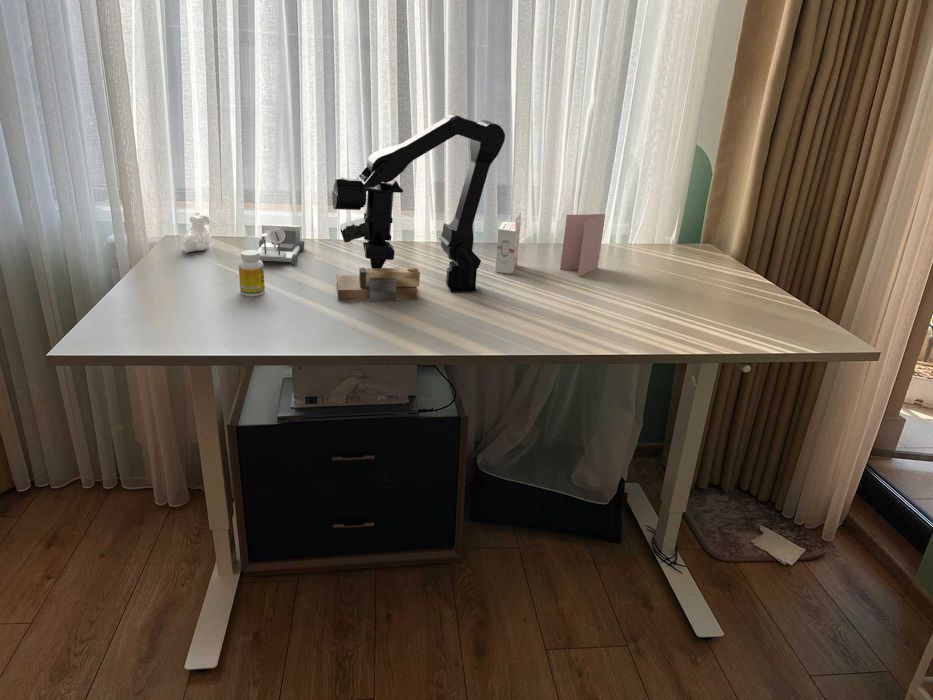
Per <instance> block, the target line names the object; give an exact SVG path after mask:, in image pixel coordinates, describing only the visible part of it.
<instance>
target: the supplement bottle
mask: <svg viewBox="0 0 933 700" xmlns="http://www.w3.org/2000/svg"><path fill="white" fill-rule="evenodd" d="M240 258H241V260H240V261H239V262H238V278H239V290H240V291H239V292H240V294H241V295H243V296H244V297H259V296H262V295H263V294H265V272H264V271H265V270H264V269H265V268H264V263H263V262H264V261H261V260H259V258H260V253H259V251H257V250H255V249H246V250H243V251H241V252H240Z"/></svg>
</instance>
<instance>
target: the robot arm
mask: <svg viewBox="0 0 933 700" xmlns="http://www.w3.org/2000/svg"><path fill="white" fill-rule="evenodd" d="M455 136H461V137H464V138H467V139H470V142H469V149H470V161H469V165H468V168H467V172H466V175H465V179H464V183H463V186H462V189H461V190H462V191H461V193H460V197H459V201H458V205H457V208H456V212H455V214H454V217H453V219H452V221H451V222H450V223H449V224H448V223H443V226H442V233H441V235H440V236H439V239H438V240H439V241H440V246H441V249H442V250H443V252H444V253H445V254H446V255H447V257H448V259H449V260H450V261H449V264H448V265H449V266H448V267H447V268H446V276H445V278H446V280H445V285H446V286H447V288H448V289H449V291H450V292H452V293H470V292H471V293H472V292H473V293H474V292H475V293H476V292H478V288H477V272H478V271H477V270H478V269H479V267H480V265H481V262H482V260H481V258H479V257H478V255H477V254H476V253H474V251H473V249H474V248H473V245H474V240H475V239H474V237H475V236H474V222H475V218H476V214H477V211H478V208H479V204H480V201H481V198H482V195H483V192H484V187H485V183H486V181H487V177H488V173H489V170H490V167H491V164H492V163H493V162H494V161H495V159H496V158H497V157H498V156H499V154H500V152H501V150H502V147H503V145H504V143H505V140H506V133H505V131H504V128H502V126H501V125H498V124H497V123H494V122H491V121H489V120H485V119H483V120H479V121H473V120H471V119H467V118H464V117H462V116H459V115H457V114H455V113H449V114H446V116H445V117H444V118H443V119H441V120H438V122H436V123H433V124H432V125H430V126H429V127H427V128H425V129H424V130H422V131H420V132H418V133H417V134H415V135H413V136H412V137H410V138H409V139H407V140H405V141H403V142H402V143H399V144H396V145H392V146H388V147H384V148H382V149H379V150H376V151H374V152H372V153H371V154H370V155H369V157H368V158H367V161H366V166H365V167H364V169H362V170H361V172H360V173H359V174H358V176H357V177H356V178H345V177H340V176H339V177H338V176H337V177H335V179H334V184H333V189H332V192H331V195H332V197H331V201H332V206H333V207H332V208H333V209H334V210H341V211H344V210H345V211H346V210H347V211H349V210H351V211H360V210H361V208H364V207H365V206H366V210H365V212H364V213H363V217H362V218H356V219H353V220H350V221H347V222H342V223H340V224H339V230H340V234H341V236H342V239H343V242H344V243H349V242H351V241H353V240H357V239H361V238H363V240H365V241H364V242H362V247H363V251H364V255H365V258H366V259H369V260H370V268H383V266H385V265H384V264H385V263H386V261H387V260H388V261H392V260H395V248H394V245H392V244H391V241H392V234H391V232H392V231H391V230H392V224H393V222H394V221H393V219H394V218H393V204H394V203H393V202H394V193H397V194H399V193H400V194H402V193H403V192H404V190H403V188H402V187H401V186H400V185H399V183H398V181H397V180H396V178H397V177H398V176H399V175H401V174H402V173H403V172H404V171H405V170H406V168H407V167H408V166H409V165H410V164H411V163H412V162H413V161H415V160H416V159H418V158H420V157H421V156H423V155H425V154H427V153H429V152H430V151H432V150H434V149H435V148H436V147H438V146H440V145H441V144H443V143H445V142H446V141H448V140H450V139H452V138H453V137H455Z"/></svg>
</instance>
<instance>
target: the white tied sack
mask: <svg viewBox="0 0 933 700" xmlns="http://www.w3.org/2000/svg"><path fill="white" fill-rule="evenodd" d="M188 220H189V222H190V223H191V224H192V225H191V226H190V227H189V228H188V229H187V230H186V233H185V236H184V237H183V240H182V241H183V243H182V246H183V250H184V253H191V252H200V251H201V252H202V251H206V250H207V248H208V247H209V246H210V244H211V241H212V240H211V239H212V237H211V233H210V231H209V230H208V228H207V226H208V225H209V224H211V220H212V219H211V217H210V214H209V213H208V212H204V211H201V210H198V211H197V212H195V213H194V214H193V215H192V216H190V217H189V219H188ZM205 225H207V226H205Z"/></svg>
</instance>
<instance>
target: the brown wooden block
mask: <svg viewBox="0 0 933 700" xmlns="http://www.w3.org/2000/svg"><path fill="white" fill-rule="evenodd" d="M396 283H397V280H396V278H369V287H366V288H360V283H359V275H336V290H337V298H338V299H337V301H369V302H396V301H401V300H403V301H404V300H405V301H406V300H407V301H408V300H411V301H412V300H413V301H414V300H415V301H416V300H418V290H419V289H418V287H396Z"/></svg>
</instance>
